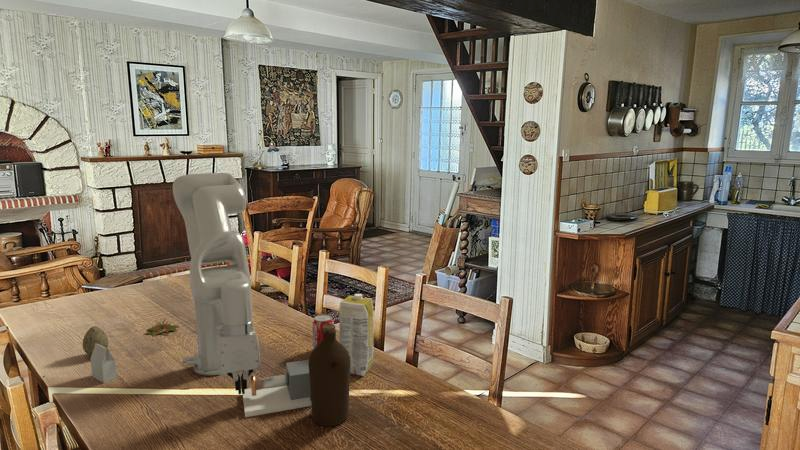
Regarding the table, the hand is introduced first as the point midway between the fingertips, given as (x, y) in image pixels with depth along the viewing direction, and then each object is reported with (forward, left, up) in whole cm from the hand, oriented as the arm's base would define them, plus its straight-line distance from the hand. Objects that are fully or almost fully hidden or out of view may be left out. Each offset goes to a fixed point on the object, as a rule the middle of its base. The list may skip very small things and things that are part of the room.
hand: (241, 391), depth 139 cm
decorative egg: (-43, +46, -4) cm, 63 cm away
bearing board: (+14, 0, -4) cm, 14 cm away
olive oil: (+21, -12, -4) cm, 25 cm away
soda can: (+27, +26, -4) cm, 38 cm away
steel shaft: (+10, 0, -1) cm, 10 cm away
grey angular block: (-38, +29, -4) cm, 48 cm away
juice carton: (+34, +10, -4) cm, 36 cm away
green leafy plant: (-25, +62, -5) cm, 67 cm away
